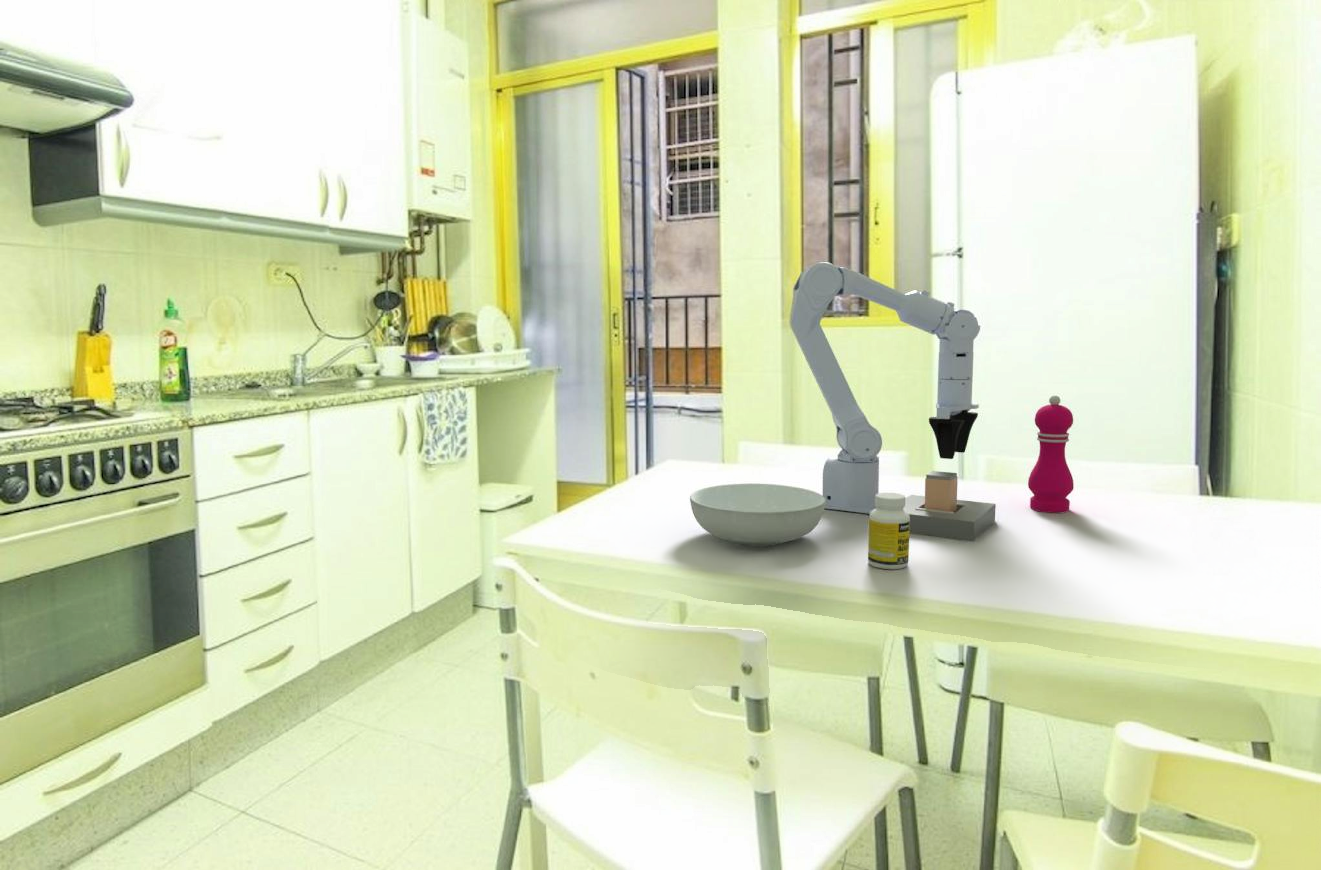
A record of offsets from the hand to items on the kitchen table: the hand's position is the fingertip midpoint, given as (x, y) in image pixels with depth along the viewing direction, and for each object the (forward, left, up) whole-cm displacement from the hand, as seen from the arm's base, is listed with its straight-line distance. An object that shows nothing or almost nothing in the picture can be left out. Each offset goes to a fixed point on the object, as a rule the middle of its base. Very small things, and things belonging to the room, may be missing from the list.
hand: (952, 455), depth 144 cm
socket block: (+2, -14, -9) cm, 17 cm away
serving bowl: (-20, -36, -10) cm, 42 cm away
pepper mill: (+15, +7, -10) cm, 19 cm away
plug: (+2, -14, -9) cm, 17 cm away
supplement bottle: (+2, -39, -10) cm, 40 cm away
